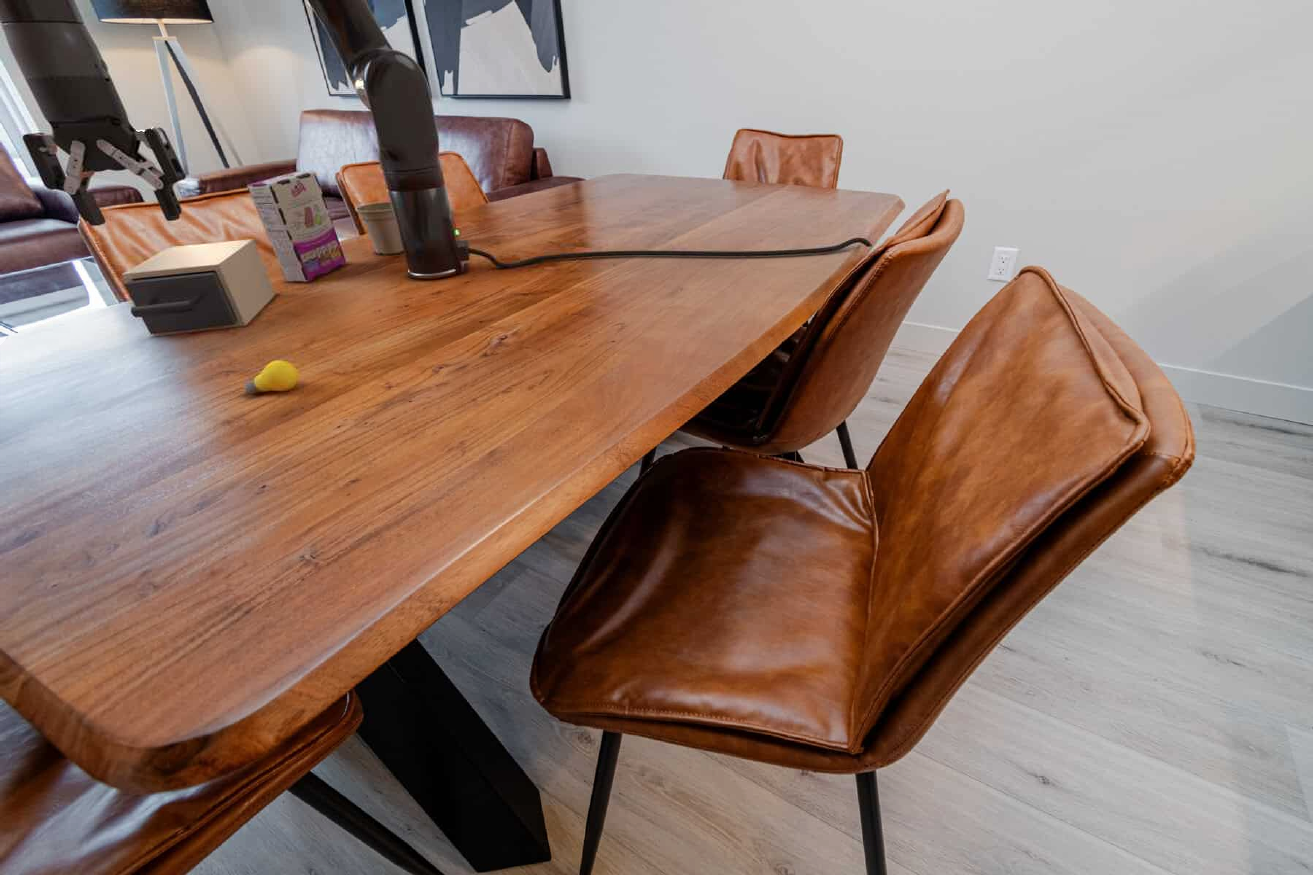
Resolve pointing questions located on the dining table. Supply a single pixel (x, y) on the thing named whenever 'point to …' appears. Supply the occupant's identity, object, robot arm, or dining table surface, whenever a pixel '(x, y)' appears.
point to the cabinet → (233, 267)
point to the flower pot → (381, 227)
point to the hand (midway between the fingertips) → (136, 222)
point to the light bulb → (274, 378)
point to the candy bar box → (298, 225)
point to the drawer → (181, 302)
